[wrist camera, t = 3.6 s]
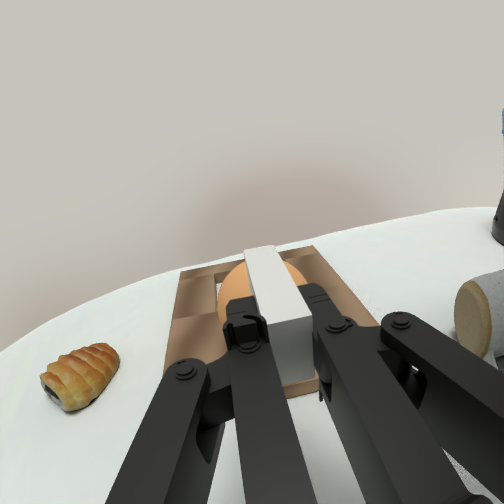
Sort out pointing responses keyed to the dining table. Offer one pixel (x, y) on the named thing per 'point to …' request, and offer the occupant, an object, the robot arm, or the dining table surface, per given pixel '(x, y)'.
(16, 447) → the dining table surface
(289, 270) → the ball
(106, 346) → the pastry
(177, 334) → the hole board
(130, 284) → the dining table surface
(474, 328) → the ceramic mug
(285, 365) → the robot arm
